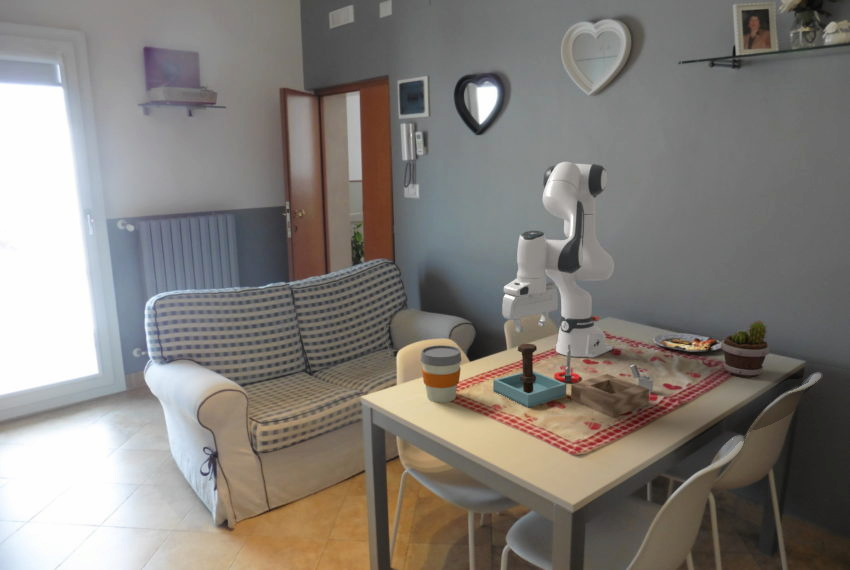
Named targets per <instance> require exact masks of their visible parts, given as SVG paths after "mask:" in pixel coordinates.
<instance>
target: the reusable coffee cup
mask: <svg viewBox="0 0 850 570" xmlns="http://www.w3.org/2000/svg"><path fill="white" fill-rule="evenodd" d="M420 361H421V364H422V367H421V374H422V380H423V384H424V385H425V391H426V398H427V399H428V400H429V401H430V402H433V403H450V402H452V401H454V400H455V399H456V397H457V390H458V389H457V388H458V384H459V382H460V377H461V366H460V365H461V361H462V354H461V350H460V349H459V348H458V347H456V346H452V345H441V344H439V345H431V346H428V347H425V348H423V349H422V350H421V355H420Z"/></svg>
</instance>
